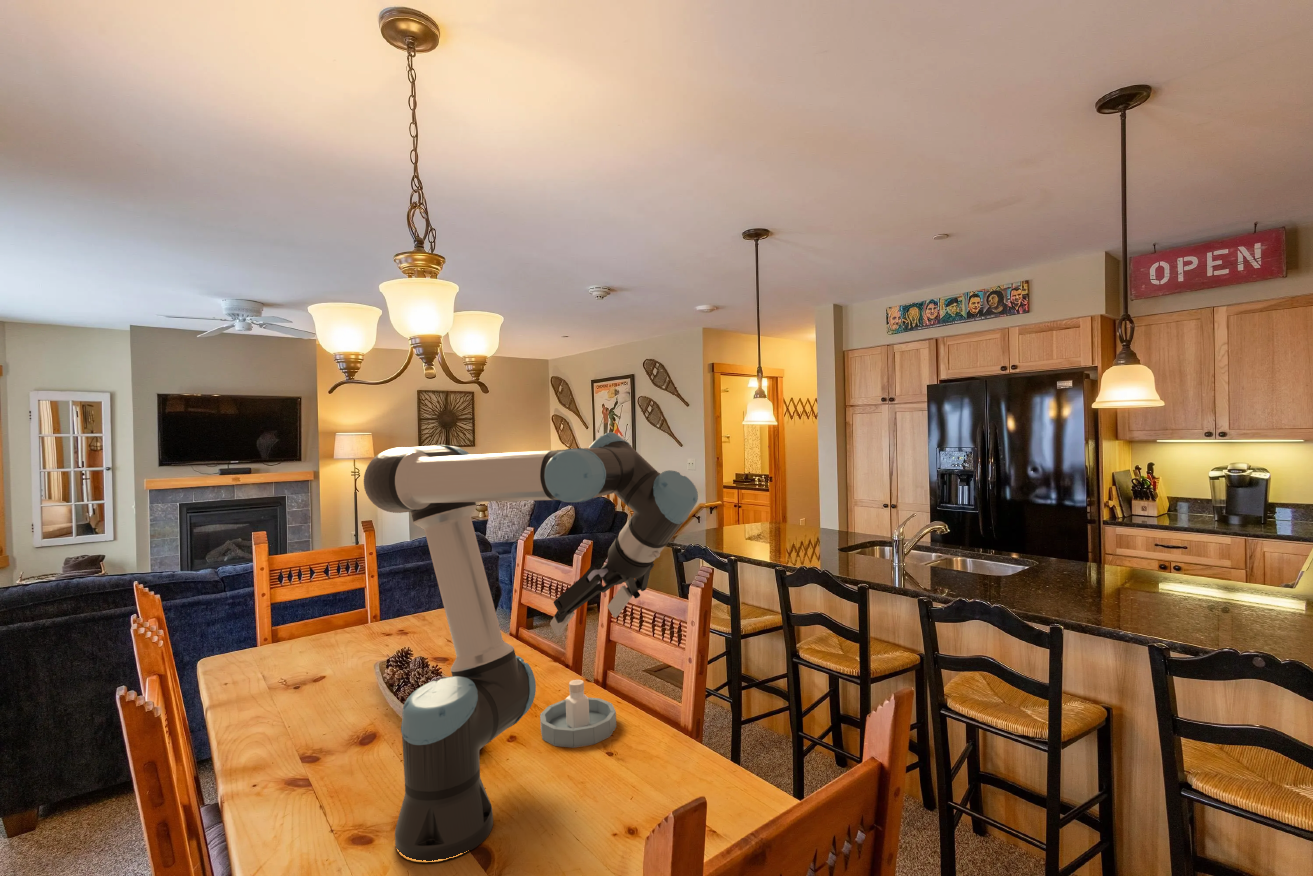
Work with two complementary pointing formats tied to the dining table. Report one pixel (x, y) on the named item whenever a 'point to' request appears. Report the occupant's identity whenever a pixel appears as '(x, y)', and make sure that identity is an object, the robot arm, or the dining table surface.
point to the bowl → (565, 736)
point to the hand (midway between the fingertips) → (584, 620)
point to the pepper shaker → (577, 705)
